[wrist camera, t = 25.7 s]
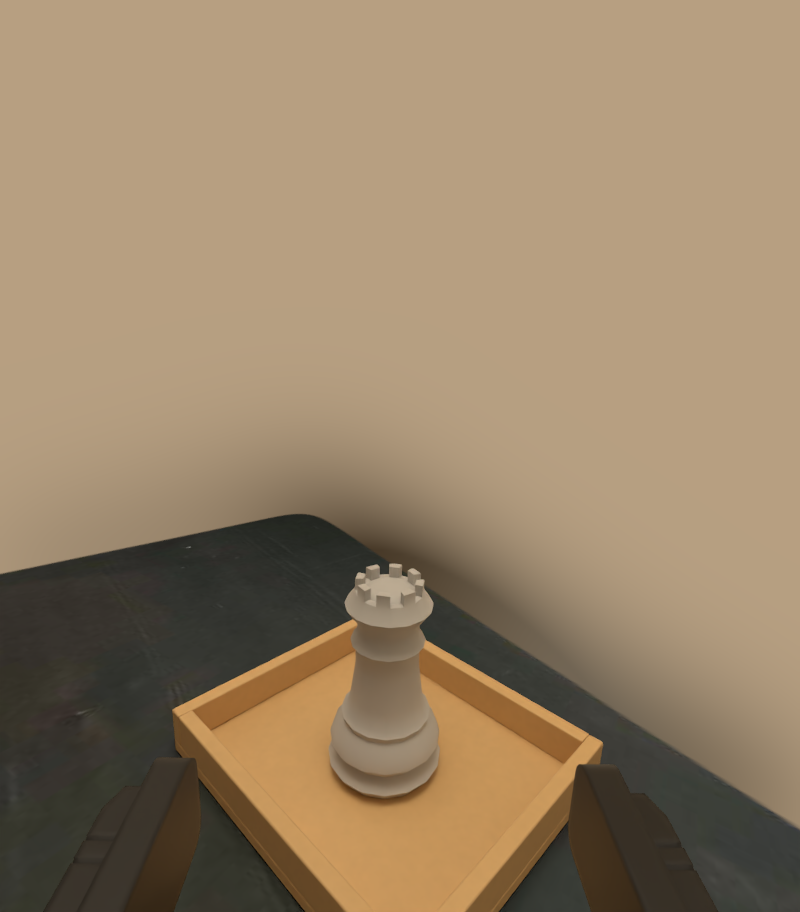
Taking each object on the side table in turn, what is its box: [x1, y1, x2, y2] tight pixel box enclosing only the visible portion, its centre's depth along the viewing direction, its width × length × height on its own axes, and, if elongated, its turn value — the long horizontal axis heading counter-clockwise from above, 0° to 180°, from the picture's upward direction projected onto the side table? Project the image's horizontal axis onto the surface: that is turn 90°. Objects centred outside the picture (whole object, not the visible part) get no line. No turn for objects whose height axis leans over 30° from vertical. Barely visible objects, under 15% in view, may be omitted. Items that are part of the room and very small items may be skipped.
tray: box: [172, 619, 603, 912], centre depth 22 cm, size 13×11×2 cm
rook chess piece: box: [329, 564, 440, 799], centre depth 21 cm, size 4×4×8 cm
